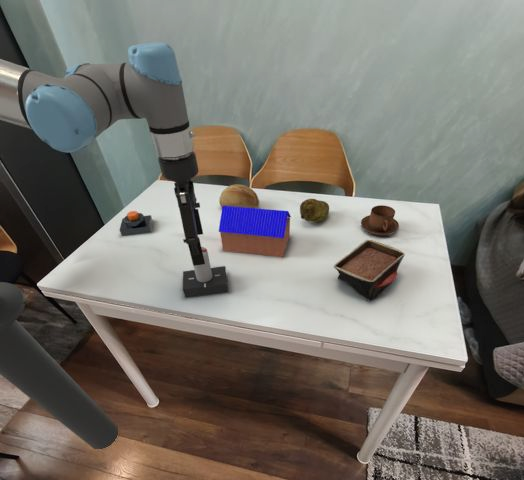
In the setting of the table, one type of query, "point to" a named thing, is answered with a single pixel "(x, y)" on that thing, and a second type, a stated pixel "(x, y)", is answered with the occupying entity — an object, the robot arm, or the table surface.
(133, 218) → the button
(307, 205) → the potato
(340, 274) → the baking dish
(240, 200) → the bread roll
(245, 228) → the house
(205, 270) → the timer dial
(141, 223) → the button block
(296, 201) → the table surface
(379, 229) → the cup and saucer
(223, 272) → the timer panel
